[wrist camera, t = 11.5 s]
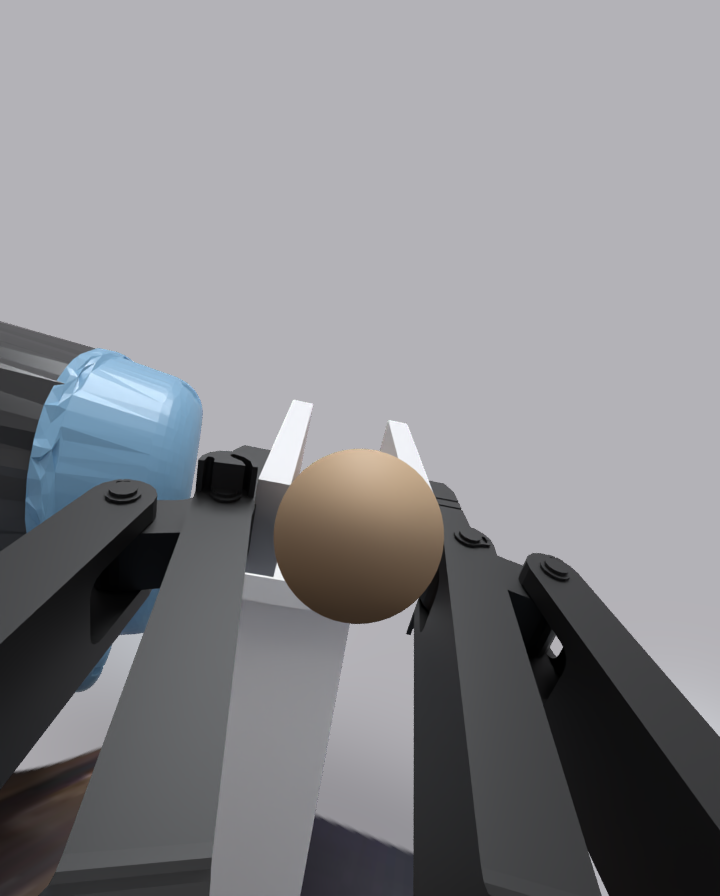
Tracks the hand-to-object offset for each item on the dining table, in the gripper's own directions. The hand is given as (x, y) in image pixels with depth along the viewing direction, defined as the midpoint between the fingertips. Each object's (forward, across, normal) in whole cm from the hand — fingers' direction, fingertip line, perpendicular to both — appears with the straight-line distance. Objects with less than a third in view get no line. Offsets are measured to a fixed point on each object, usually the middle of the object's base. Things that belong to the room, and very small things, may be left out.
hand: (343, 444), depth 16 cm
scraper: (0, 0, -5) cm, 5 cm away
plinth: (+4, 0, -48) cm, 48 cm away
